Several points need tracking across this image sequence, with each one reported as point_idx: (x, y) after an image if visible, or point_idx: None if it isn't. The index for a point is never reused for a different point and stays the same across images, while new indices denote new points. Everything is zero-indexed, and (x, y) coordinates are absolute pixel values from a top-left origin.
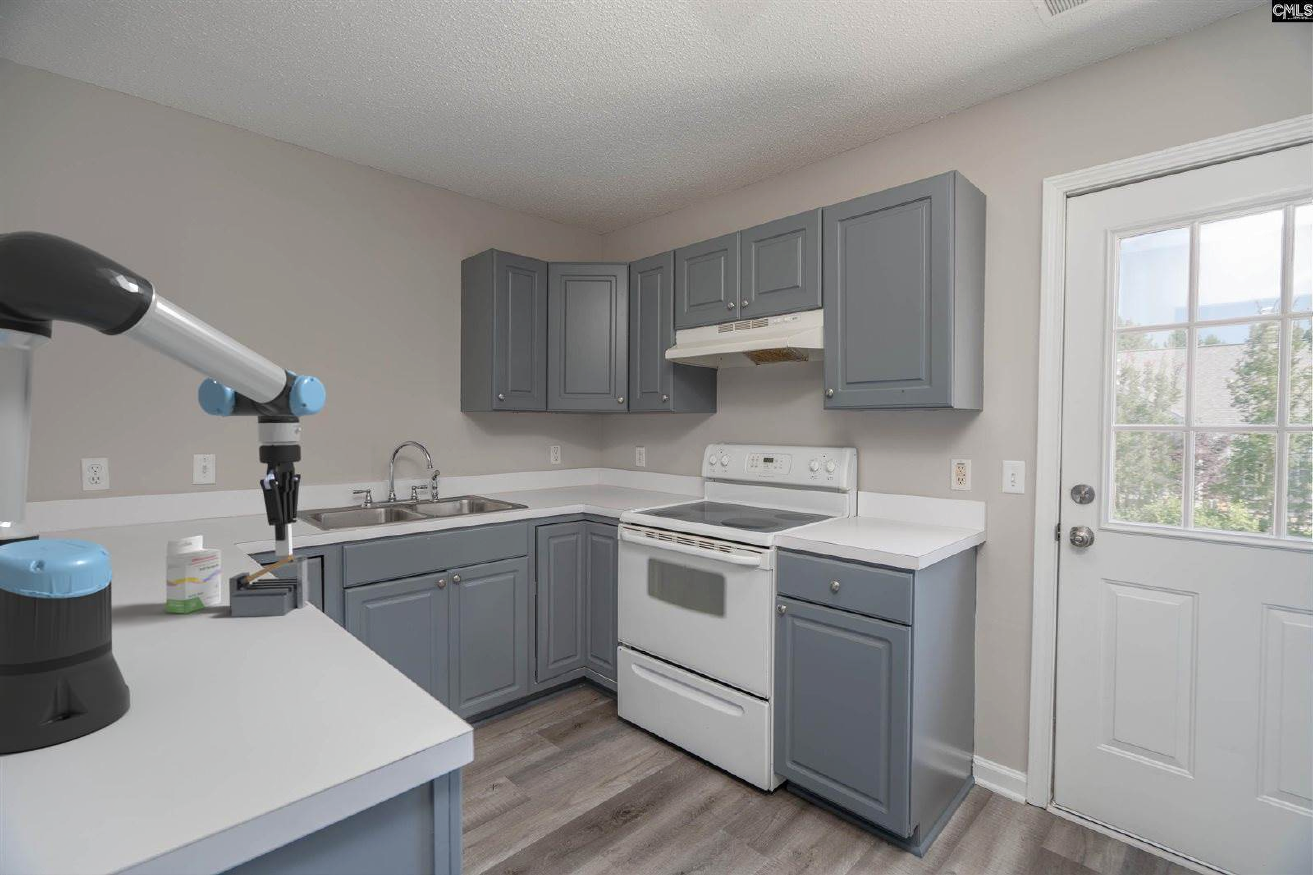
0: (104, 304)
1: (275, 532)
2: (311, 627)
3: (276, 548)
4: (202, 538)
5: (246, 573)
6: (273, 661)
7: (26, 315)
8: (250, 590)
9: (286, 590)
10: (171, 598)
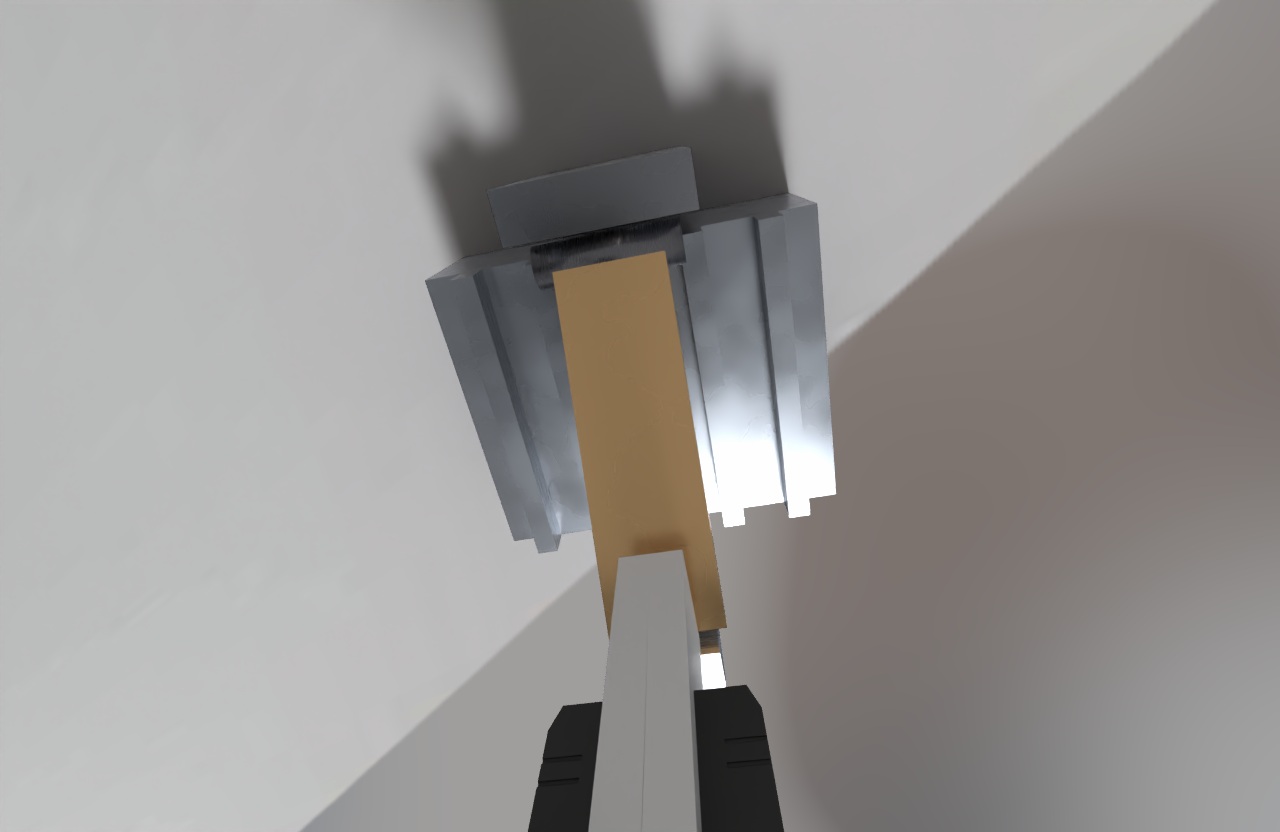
0: None
1: (534, 803)
2: (421, 650)
3: (615, 613)
4: None
5: (662, 210)
6: (135, 703)
7: None
8: (481, 375)
9: (538, 548)
10: None
